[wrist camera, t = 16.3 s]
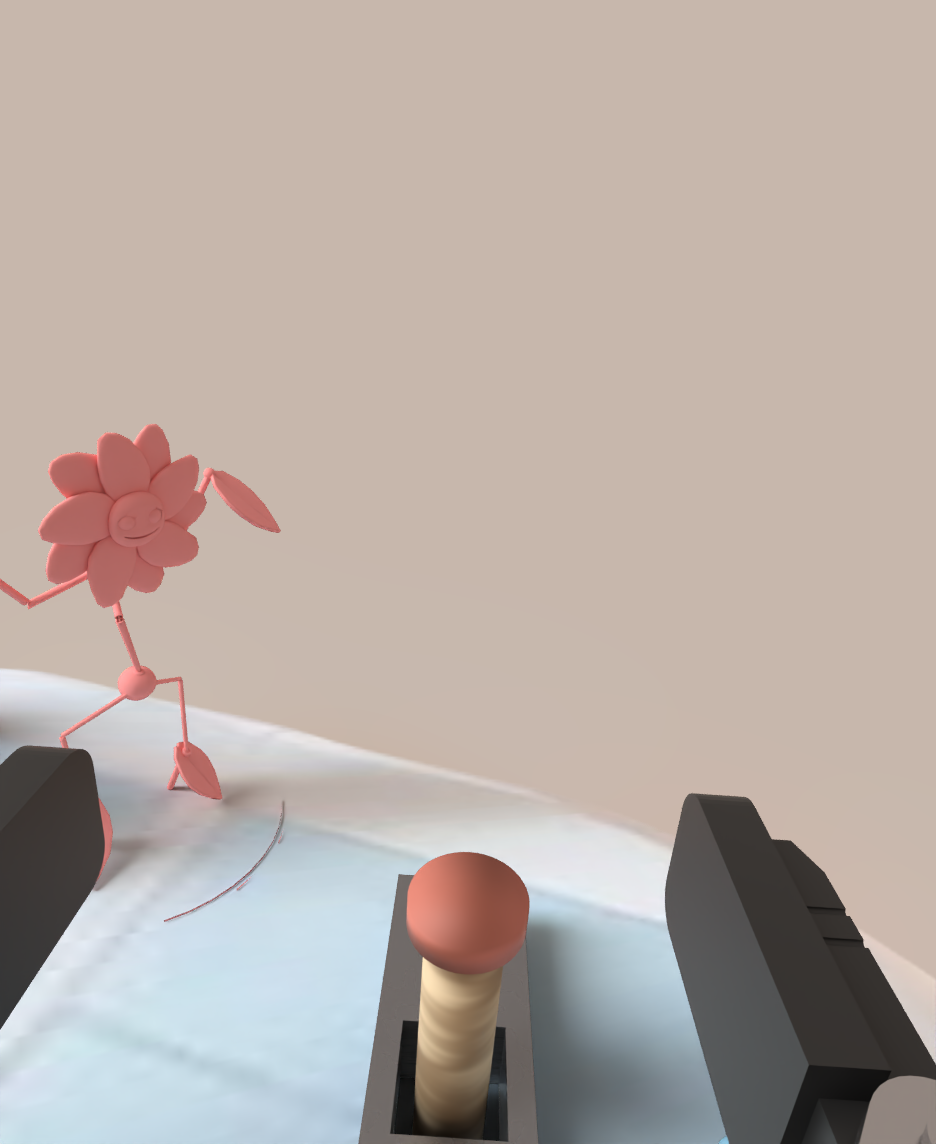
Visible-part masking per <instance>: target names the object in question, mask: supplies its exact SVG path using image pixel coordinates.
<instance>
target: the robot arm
mask: <svg viewBox="0 0 936 1144" xmlns="http://www.w3.org/2000/svg"><path fill="white" fill-rule="evenodd" d="M104 852H105V837H104V830H103V824H102V818H101V811H100V805H99V798H98V792H97V786H96V779H95V773H94V766H93V762H92V758H91V756H90V755H89V753H88V752H87V751H86V750H83V749H71V748H57V747H42V746H23V747H20V748H19V749H17V750H16V751H15V752H13V753H12V754H11V755H10V756H9V757H8V758H7V759H6V760H5V761H4V762H3V763H2V764H1V765H0V1029H1V1028H2V1026H3V1025H4V1023H5V1022H6V1020H7V1019H8V1017H9V1016H10V1014H11V1012H12V1011H13V1009H14V1008H15V1006H16V1005H17V1003H18V1002H19V1000H20V999H21V997H22V996H23V994H24V993H25V991H26V990H27V988H28V987H29V985H30V984H31V982H32V980H33V979H34V977H35V976H36V974H37V973H38V971H39V970H40V968H41V967H42V965H43V964H44V962H45V961H46V959H47V958H48V956H49V955H50V953H51V952H52V950H53V949H54V947H55V945H56V944H57V942H58V941H59V939H60V938H61V936H62V935H63V933H64V932H65V930H66V929H67V927H68V926H69V924H70V923H71V921H72V920H73V918H74V917H75V915H76V913H77V912H78V910H79V909H80V907H81V906H82V904H83V903H84V901H85V900H86V898H87V897H88V895H89V894H90V892H91V890H92V889H93V887H94V885H95V883H96V881H97V879H98V876H99V873H100V870H101V867H102V863H103V858H104ZM665 910H666V919H667V925H668V930H669V934H670V938H671V941H672V945H673V948H674V952H675V955H676V959H677V962H678V966H679V969H680V973H681V976H682V980H683V983H684V987H685V990H686V994H687V997H688V1001H689V1005H690V1008H691V1012H692V1015H693V1019H694V1022H695V1026H696V1029H697V1033H698V1036H699V1040H700V1043H701V1047H702V1050H703V1054H704V1057H705V1061H706V1064H707V1068H708V1071H709V1075H710V1078H711V1082H712V1085H713V1089H714V1092H715V1096H716V1100H717V1103H718V1107H719V1110H720V1114H721V1117H722V1121H723V1124H724V1128H725V1131H726V1135H727V1138H728V1142H729V1144H936V1064H935V1062H934V1061H933V1059H932V1057H931V1055H930V1054H929V1052H928V1050H927V1048H926V1047H925V1045H924V1043H923V1042H922V1040H921V1038H920V1036H919V1035H918V1033H917V1031H916V1030H915V1028H914V1026H913V1024H912V1023H911V1021H910V1019H909V1017H908V1016H907V1014H906V1012H905V1011H904V1009H903V1007H902V1005H901V1004H900V1002H899V1000H898V998H897V997H896V995H895V993H894V992H893V990H892V988H891V986H890V985H889V983H888V981H887V979H886V978H885V976H884V974H883V973H882V971H881V969H880V967H879V966H878V964H877V962H876V961H875V959H874V957H873V955H872V954H871V952H870V950H869V948H865V947H864V944H863V938H862V936H861V935H860V933H859V931H858V929H857V928H856V926H855V924H854V923H853V921H852V919H851V917H850V916H846V913H845V907H844V905H843V904H842V902H841V900H840V899H839V897H838V895H837V893H836V892H835V890H834V888H833V887H832V885H831V883H830V882H829V879H828V878H827V876H826V874H825V873H824V872H823V871H822V870H821V869H820V868H819V867H818V866H817V865H816V864H815V863H814V862H813V861H812V860H811V859H810V858H809V857H807V856H806V855H805V854H804V853H803V852H802V851H801V850H800V849H799V848H798V847H797V846H796V845H795V844H794V843H793V842H791V841H788V840H772V839H771V837H770V836H769V833H768V831H767V830H766V827H765V826H764V824H763V822H762V820H761V818H760V816H759V814H758V812H757V810H756V808H755V806H754V805H753V803H752V802H751V801H750V800H749V799H748V798H746V797H736V796H722V795H706V794H689V795H688V796H687V797H686V799H685V801H684V804H683V808H682V812H681V817H680V821H679V825H678V830H677V834H676V839H675V844H674V848H673V853H672V857H671V862H670V866H669V871H668V875H667V880H666V888H665Z"/></svg>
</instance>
